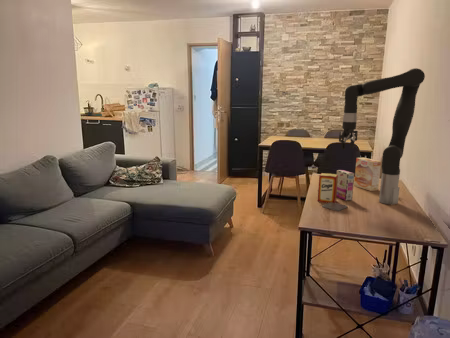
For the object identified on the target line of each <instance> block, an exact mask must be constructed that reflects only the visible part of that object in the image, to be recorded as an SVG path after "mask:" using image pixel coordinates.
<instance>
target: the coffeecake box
mask: <svg viewBox="0 0 450 338" xmlns="http://www.w3.org/2000/svg"><path fill="white" fill-rule="evenodd" d="M381 169H382V160H377V159H371V158H369V157H368V158H367V157H356V160H355V171H354V185H353V187H357V188H360V189H364V190H366V191H370V192H373V191H375V192H376V191H379V186H380V185H379V184H380V175H381Z"/></svg>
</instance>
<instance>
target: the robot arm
mask: <svg viewBox="0 0 450 338" xmlns="http://www.w3.org/2000/svg"><path fill="white" fill-rule="evenodd" d="M425 77H426V75H425V73H424V71H423V70H422V69H420V68H416V67H415V68H410V69H409V70H407V71H405V72H403V73H400V74H397V75H393V76H389V77H384V78H377V79H373V80H369V81H365V82H363V83H359V84H352V85H349V86H347V87H345V90H344V92H345V93H344V105H343V106H344V107H343V108H344V109H343V117H342V126H341V127H342V128H341V129H342V130H343V131H342V130H341V131H339V135H338V136H339V137H338V142H339V143H340V149H341V150H343V151H344V150H346V142H347V141H348V140H350V142H349V149H354V148H355V143H356V142H358V132H359V131H358V130H356V129H357V121H358V115H357V114H358V98H359V97H361V96H365V95H366V96H367V95H372V94H376V93H380V92H384V91H388V90H392V89H396V88H402V90H401V95H400V97H399V100H398V103H397V105H396V108H395V111H394V115H393V118H392V119H393V120H392V129H391V130H392V132H391V133H392V134H391V139H390V141H389V143H388V146H387V147H386V148H384V150H383V152H382V158H381V159H382V160H381V178H380V185H379V186H380V188H379V196H378V197H379V199H378V202H379V203H381V204H384V205H391V206H393V205H396V204H398V203H399V196H400V188H401V187H399V182H400V174H401V169H400V163H401V159H402V157H403V155H404V150H405V143H406V138H407V136H408V134H409V130H410V127H411V125H412V122H413V119H414V118H413V117H414V113H415V108H416V99H417V93H418V91H419V89H420V85H421V84H422V83H423V82H424V81H425Z"/></svg>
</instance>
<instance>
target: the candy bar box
mask: <svg viewBox="0 0 450 338" xmlns="http://www.w3.org/2000/svg"><path fill="white" fill-rule="evenodd" d="M336 175H338V182H337V195H336V198H339V199H341V200H343V201H345V202H347V201H353V193H354V180H355V172H351V171H348V170H344V169H338V170H337V169H336Z"/></svg>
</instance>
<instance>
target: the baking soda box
mask: <svg viewBox="0 0 450 338" xmlns="http://www.w3.org/2000/svg"><path fill="white" fill-rule="evenodd" d="M326 173H327V172H326ZM326 173H323V172H321V173H320V174H319V176H318V177H319V178H318V189H317V193H318V194H317V202H319V201H320V202H321V203H326V202H327V203H330V202H333V203H336V201H337V197H336V195H337V182H338V175H337V173H330V174H326ZM320 202H319V203H320ZM327 203H326V204H327Z"/></svg>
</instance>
